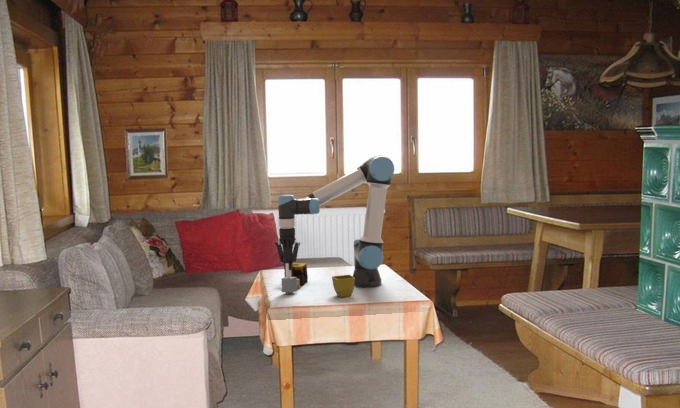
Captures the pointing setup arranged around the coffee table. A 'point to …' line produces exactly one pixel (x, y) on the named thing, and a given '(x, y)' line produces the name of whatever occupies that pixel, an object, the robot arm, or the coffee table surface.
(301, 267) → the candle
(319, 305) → the coffee table surface
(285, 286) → the grey matte cube
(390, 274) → the coffee table surface
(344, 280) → the flower pot
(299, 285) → the oak post
